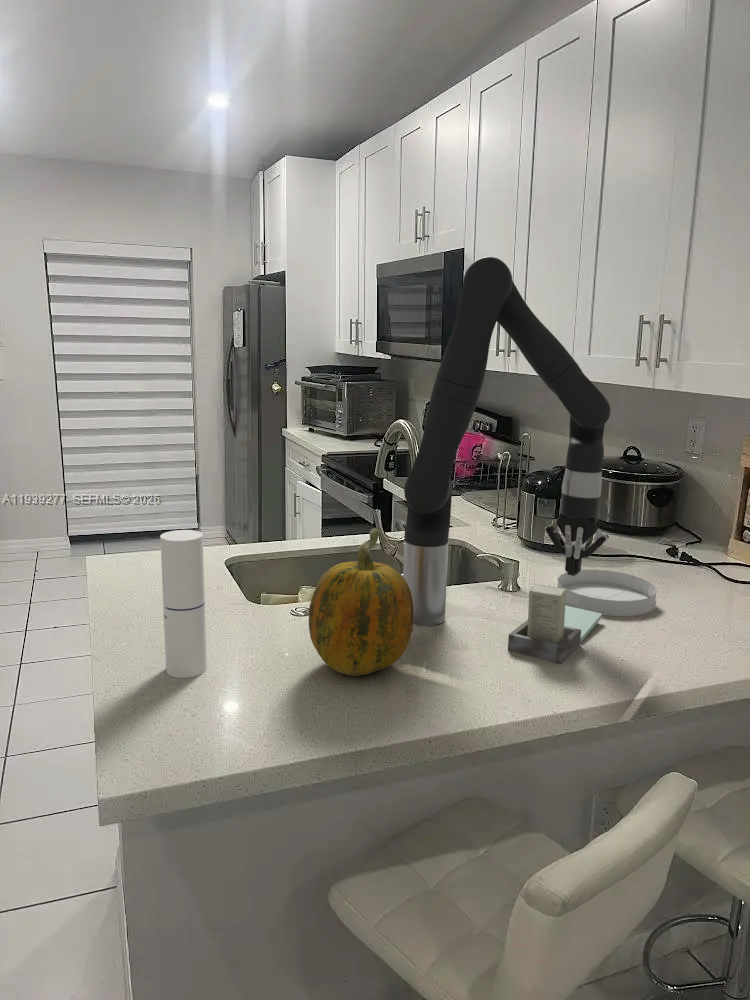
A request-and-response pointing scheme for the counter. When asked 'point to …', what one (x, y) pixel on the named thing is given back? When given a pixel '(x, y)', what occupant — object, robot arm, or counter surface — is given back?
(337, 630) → the pumpkin
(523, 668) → the counter surface
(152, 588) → the counter surface
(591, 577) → the dish
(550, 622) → the skincare box
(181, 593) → the cylindrical container
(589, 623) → the open box lid
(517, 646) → the dark grey tray
